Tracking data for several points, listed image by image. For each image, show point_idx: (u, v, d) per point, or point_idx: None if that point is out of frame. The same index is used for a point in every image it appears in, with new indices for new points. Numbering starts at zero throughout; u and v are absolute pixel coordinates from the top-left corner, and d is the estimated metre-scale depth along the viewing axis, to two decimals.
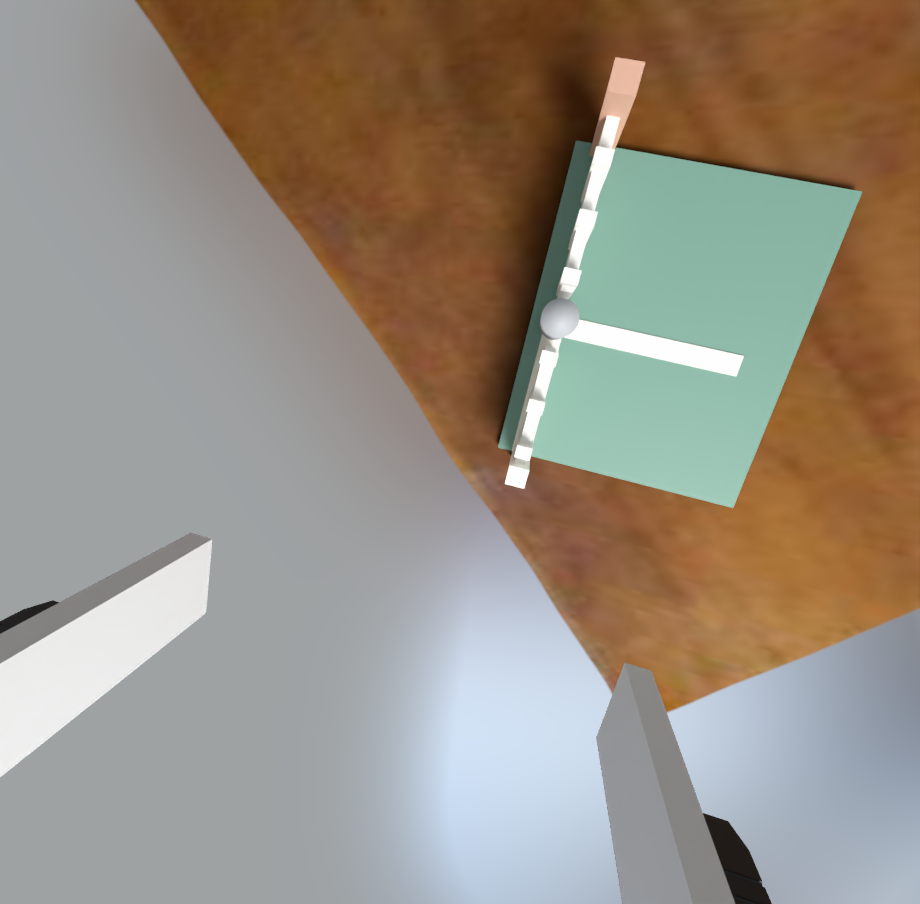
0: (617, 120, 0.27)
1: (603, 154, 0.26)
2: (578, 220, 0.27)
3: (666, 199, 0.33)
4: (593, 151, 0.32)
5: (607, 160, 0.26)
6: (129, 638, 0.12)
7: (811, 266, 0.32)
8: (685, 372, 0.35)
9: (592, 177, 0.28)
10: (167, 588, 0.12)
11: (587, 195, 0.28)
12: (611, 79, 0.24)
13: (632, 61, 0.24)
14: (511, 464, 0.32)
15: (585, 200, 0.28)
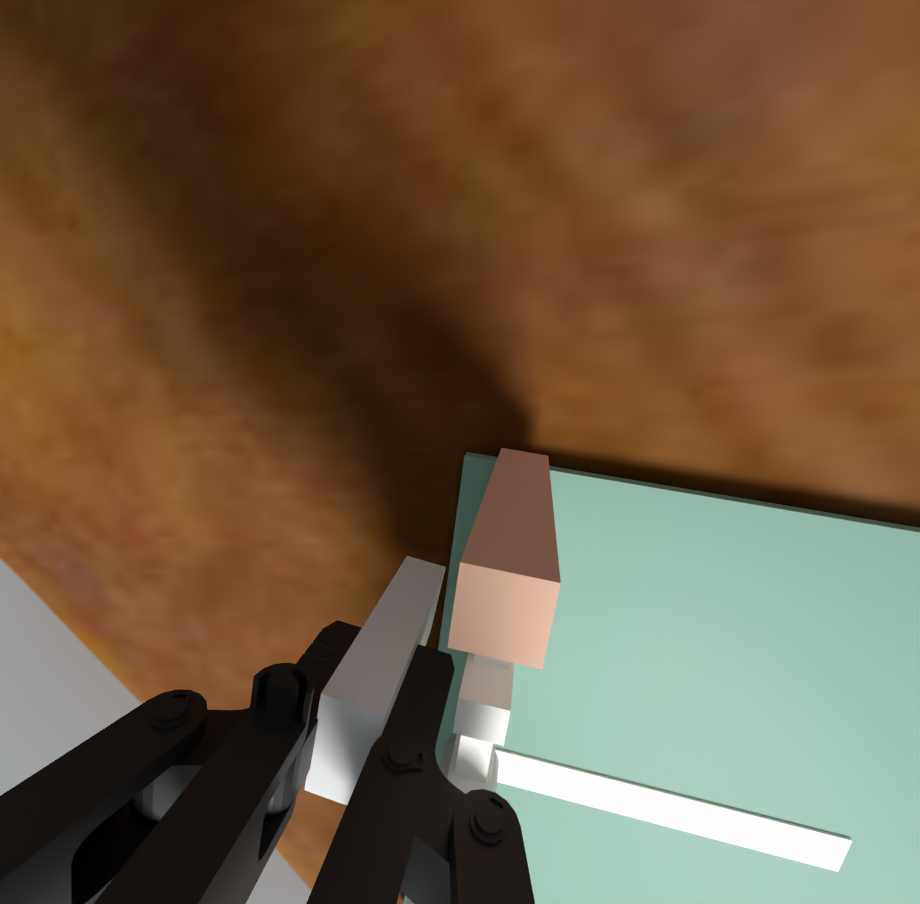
0: None
1: (480, 718, 0.09)
2: None
3: (663, 564, 0.16)
4: None
5: (493, 733, 0.09)
6: None
7: None
8: (732, 852, 0.18)
9: None
10: None
11: (464, 739, 0.11)
12: (457, 618, 0.07)
13: (517, 577, 0.07)
14: None
15: (461, 747, 0.11)
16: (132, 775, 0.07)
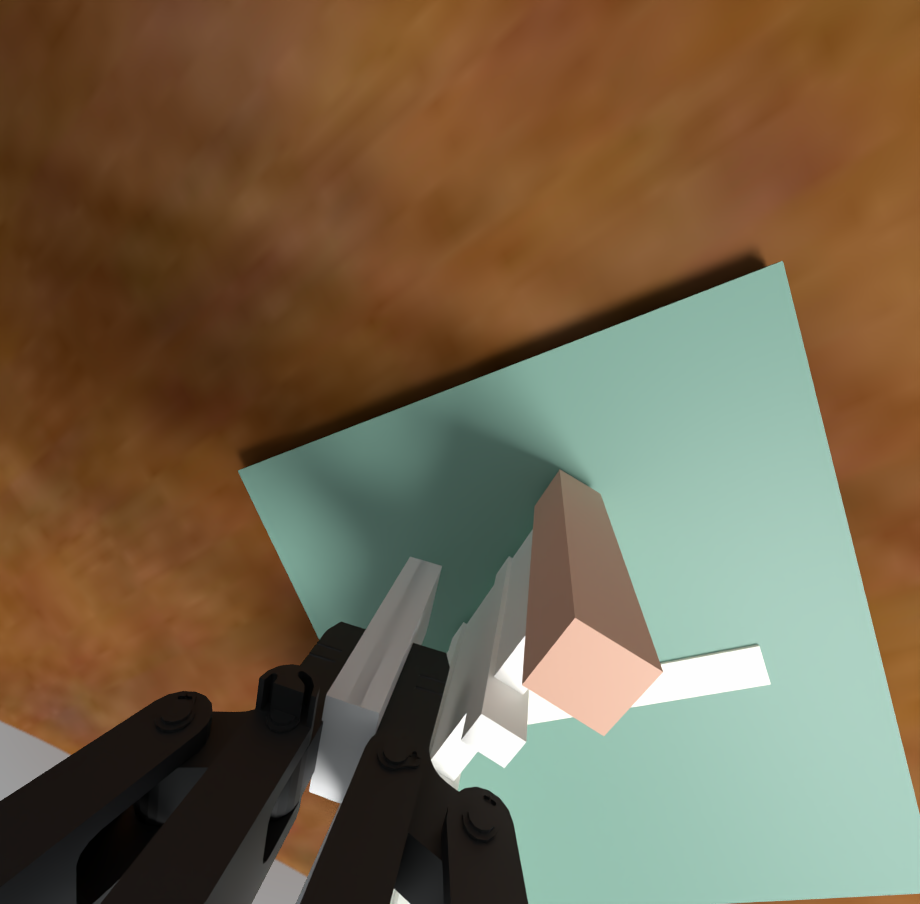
0: None
1: (493, 738, 0.10)
2: None
3: (429, 476, 0.17)
4: None
5: (500, 754, 0.10)
6: None
7: (776, 440, 0.14)
8: (668, 711, 0.17)
9: None
10: None
11: (452, 739, 0.11)
12: (545, 664, 0.07)
13: (623, 651, 0.07)
14: None
15: (445, 744, 0.11)
16: (137, 777, 0.07)
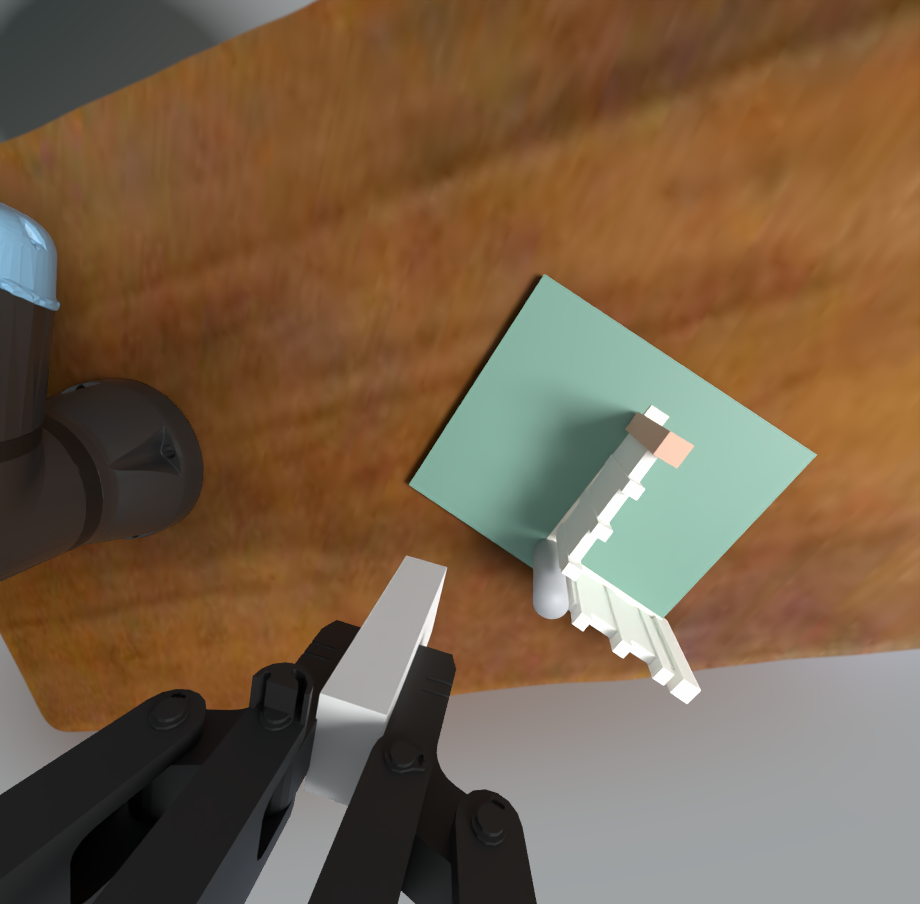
0: (656, 456, 0.28)
1: (633, 489, 0.28)
2: (593, 531, 0.29)
3: (482, 431, 0.36)
4: None
5: (635, 495, 0.28)
6: None
7: (591, 328, 0.33)
8: None
9: (618, 492, 0.29)
10: None
11: (609, 504, 0.30)
12: (660, 446, 0.26)
13: (683, 440, 0.26)
14: (669, 687, 0.31)
15: (606, 507, 0.30)
16: (131, 775, 0.07)
